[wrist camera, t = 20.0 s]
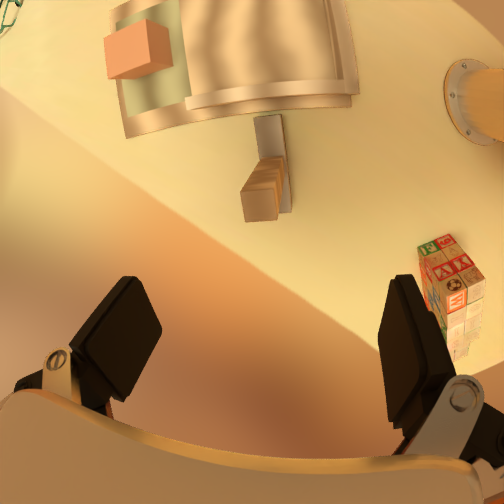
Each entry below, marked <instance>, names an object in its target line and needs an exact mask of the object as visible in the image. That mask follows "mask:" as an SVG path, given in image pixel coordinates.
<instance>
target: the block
mask: <svg viewBox="0 0 504 504" xmlns="http://www.w3.org/2000/svg"><path fill="white" fill-rule="evenodd" d="M104 47H105V57H106V66H107V74H108V79H132V80H135V79H137V78H140V77H143V76H146V75H148V74H151V73H154V72H157V71H160V70H163V69H167V68H170V67H173V60H172V53H171V46H170V38H169V30H168V28H167V27H164V26H162V25H160V24H157V23H155V22H153V21H150V20H148V19H143V20H141V21H138V22H136V23H134V24H132V25H129V26H127V27H125V28H123V29H121V30H119V31H117V32H115V33H113V34H111V35H109V36H107V37H105V38H104Z"/></svg>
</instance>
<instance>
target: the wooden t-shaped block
mask: <svg viewBox="0 0 504 504" xmlns="http://www.w3.org/2000/svg"><path fill="white" fill-rule="evenodd" d="M253 119H254V125H255V132H256V138H257V145H258V152H259V158H260V161H259V163H258V164H257V166H256V168H255V169H254V171H253V172H252V174H251V175H250V177H249V179H248V180H247V182H246V183H245V185H244V187H243V188H242V190H241V191H240V195H241V201H242V206H243V212H244V218H245V222H258V221H273V220H277V219H278V213H291V210H292V200H291V190H290V181H289V172H288V163H287V154H286V146H285V138H284V130H283V123H282V116H281V114H278V115H269V116H260V117H255V118H253Z"/></svg>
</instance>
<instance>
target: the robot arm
mask: <svg viewBox="0 0 504 504" xmlns="http://www.w3.org/2000/svg"><path fill="white" fill-rule="evenodd" d="M444 91H445V101H446V106H447V109H448V112H449V115H450V117H451V119H452V121H453V123H454V125H455V126H456V128H457V129H458V130H459V132H460V133H461V134H462V135H463V136H464V137H465V138H467V139H468V140H470V141H471V142H473V143H476V144H479V145H484V146H485V145H491V144H494V143H495V142H497V141H498V140H499V141H502V142H504V69H489V68H488V67H487V66H486V65H484V64H483V63H481V62H479V61H477V60H472V59H465V60H460V61H458V62H456V63H454V64H453V65H452V67H451V68H450V69H449V71H448V73H447V76H446V79H445V87H444ZM161 334H162V327H161V325H160V322H159V320H158V318H157V316H156V314H155V312H154V310H153V307H152V305H151V303H150V301H149V298H148V296H147V294H146V292H145V289H144V287H143V285H142V282H141V281H140V280H139V279H138V278H137V277H135V276H123V277H122V278H121V279H120V280H119V281H118V282H117V283H116V285H115V286H114V287H113V288H112V289H111V291H110V292H109V293H108V294H107V296H106V297H105V298H104V299H103V300H102V302H101V303H100V304H99V305H98V307H97V308H96V309H95V310H94V312H93V313H92V314H91V315H90V317H89V318H88V319H87V321H86V322H85V323H84V324H83V326H82V327H81V328H80V330H79V331H78V332H77V334H76V335H75V336H74V338H73V339H72V341H71V342H70V343H69V346H70V347H71V349H72V350H73V351H72V353H70V351H69V350H68V349H67V348H65V347H59V348H56V349H54V350H53V351H52V352H50V353H49V354H48V356H47V357H46V359H45V361H44V365H43V369H42V370H40V371H37V372H35V373H33V374H30V375H28V376H26V377H24V378H22V379H20V380H19V381H17V383H16V385H15V388H14V393H13V392H12V393H11V394H9V395H8V396H7V397H6V398H4V399H3V400H2V401H1V402H0V504H504V414H503V413H501V412H500V411H498V410H496V409H495V408H493V407H492V406H490V405H488V404H487V403H485V402H484V391H483V388H482V385H481V384H480V383H479V382H478V380H476V379H475V378H474V377H472V376H469V375H456V372H455V368H454V365H453V362H452V359H451V356H450V353H449V350H448V347H447V345H446V342H445V339H444V336H443V334H442V331H441V328H440V326H439V323H438V321H437V318H436V316H435V314H434V312H432V311H428V308H427V306H426V304H425V301H424V299H423V297H422V294H421V292H420V290H419V287H418V285H417V283H416V281H415V279H414V277H413V275H412V274H404V275H396V277H395V279H391V280H390V284H389V289H388V294H387V299H386V303H385V308H384V312H383V316H382V320H381V324H380V328H379V332H378V346H379V351H380V358H381V363H382V371H383V377H384V386H385V394H386V403H387V413H388V420H389V422H393V427H394V429H399V428H402V431H403V436H404V439H403V440H402V442H401V443H400V444H399V446H398V447H397V448H396V450H395V451H394V452H393V454H392V455H391V456H379V457H367V458H351V459H295V458H278V457H266V456H257V455H249V454H241V453H234V452H229V451H223V450H217V449H211V448H207V447H202V446H198V445H193V444H189V443H185V442H181V441H177V440H174V439H170V438H167V437H163V436H159V435H156V434H153V433H150V432H147V431H144V430H141V429H138V428H135V427H132V426H130V425H127V424H124V423H122V422H119V421H116V420H114V417H113V413H112V408H111V404H110V400H109V399H110V397H111V396H112V397H113V398H114V399H116V400H118V401H121V402H124V401H125V399H126V397H127V396H129V395H130V394H131V392H132V389H133V388H134V385H135V384H136V382H137V380H138V378H139V376H140V374H141V372H142V370H143V368H144V367H145V365H146V363H147V361H148V358H149V357H150V355H151V353H152V351H153V349H154V348H155V346H156V344H157V342H158V340H159V338H160V336H161ZM483 498H484V502H483Z"/></svg>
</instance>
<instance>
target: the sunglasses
mask: <svg viewBox="0 0 504 504" xmlns="http://www.w3.org/2000/svg"><path fill="white" fill-rule="evenodd" d="M2 2H3V0H1V2H0V8H1V5H2ZM9 2H15V4H16V6H18V7H19V6H20V8H21V6H22V4H21V3H20V2H19V1H18V0H13V1H10V0H8V2H7V5H6V8H5V12H4V15H3V21H4V18H5V13H6V10H7V6H8V3H9ZM3 21H2V25H1V29H0V34H1V33H2V32H3V29H4V28H5V27H10V26H12V25H13V24H14V23H15V21H16V19H15V20H14V22H13V23H12V24H11V25H3Z"/></svg>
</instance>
